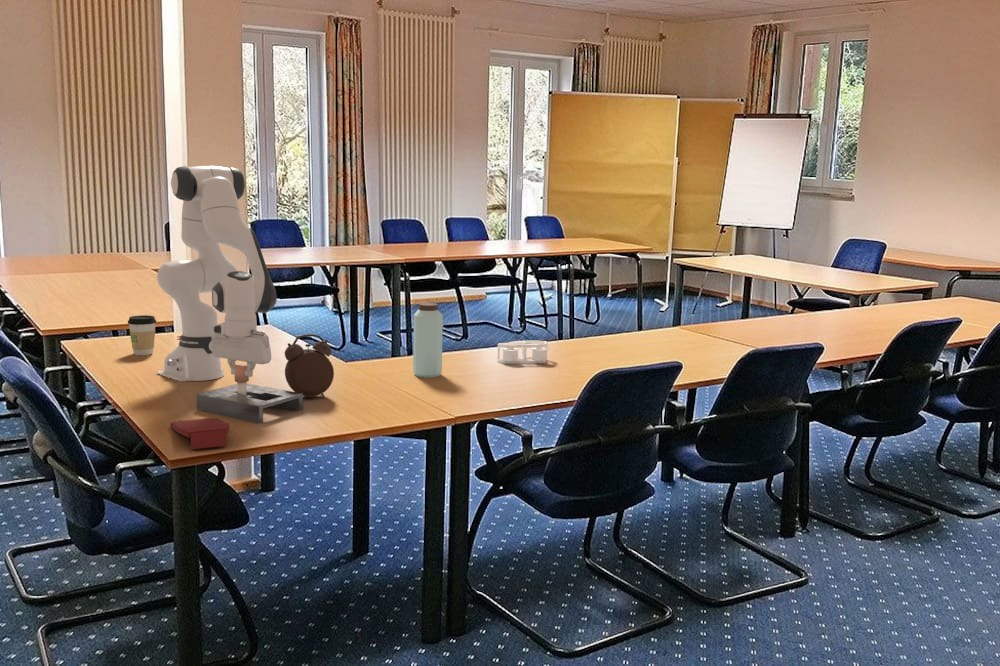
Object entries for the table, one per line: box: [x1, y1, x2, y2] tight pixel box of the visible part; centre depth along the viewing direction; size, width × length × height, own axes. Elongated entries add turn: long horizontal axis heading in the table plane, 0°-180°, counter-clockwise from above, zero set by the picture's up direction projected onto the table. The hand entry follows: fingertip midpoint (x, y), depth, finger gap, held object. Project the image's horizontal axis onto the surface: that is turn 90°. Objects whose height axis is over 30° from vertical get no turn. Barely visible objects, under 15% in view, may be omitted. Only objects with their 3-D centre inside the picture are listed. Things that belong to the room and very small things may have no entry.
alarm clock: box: [284, 333, 335, 398], centre depth 284 cm, size 14×7×20 cm, turn 115°
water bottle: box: [412, 302, 444, 379], centre depth 319 cm, size 10×10×25 cm
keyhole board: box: [196, 383, 304, 425], centre depth 269 cm, size 18×24×5 cm
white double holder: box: [497, 339, 548, 365], centre depth 348 cm, size 20×11×7 cm, turn 101°
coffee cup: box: [127, 314, 157, 356], centre depth 337 cm, size 10×10×15 cm
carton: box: [169, 417, 230, 450], centre depth 243 cm, size 12×5×25 cm
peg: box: [234, 363, 250, 395], centre depth 270 cm, size 5×5×12 cm
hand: (241, 375), depth 269 cm, fingers closed on peg, 4 cm apart
